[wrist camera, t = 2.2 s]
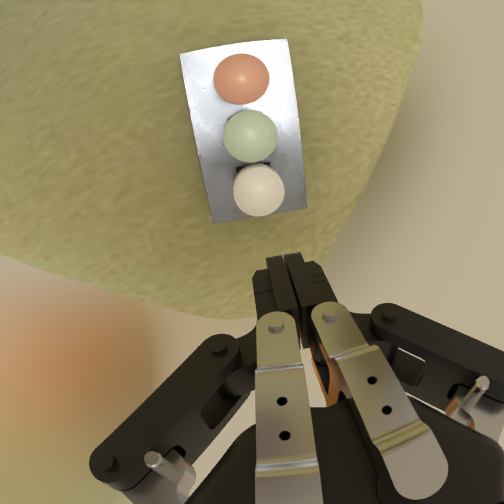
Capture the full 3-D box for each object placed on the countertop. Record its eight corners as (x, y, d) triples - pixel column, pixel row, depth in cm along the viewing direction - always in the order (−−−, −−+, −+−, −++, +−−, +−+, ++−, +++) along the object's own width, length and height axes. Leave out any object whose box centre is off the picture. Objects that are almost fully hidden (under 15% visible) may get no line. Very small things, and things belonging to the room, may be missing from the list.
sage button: (220, 112, 22) (219, 115, 19) (267, 105, 22) (274, 107, 19) (228, 156, 25) (228, 166, 21) (273, 149, 25) (280, 158, 21)
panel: (183, 57, 21) (179, 54, 19) (282, 43, 21) (286, 38, 19) (214, 213, 29) (213, 223, 27) (301, 199, 29) (306, 208, 27)
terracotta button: (212, 64, 20) (209, 58, 17) (259, 57, 20) (265, 50, 17) (219, 107, 22) (218, 108, 19) (266, 100, 22) (273, 100, 19)
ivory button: (229, 161, 25) (229, 172, 21) (273, 154, 25) (281, 164, 21) (236, 202, 27) (238, 220, 23) (278, 195, 27) (286, 212, 23)
